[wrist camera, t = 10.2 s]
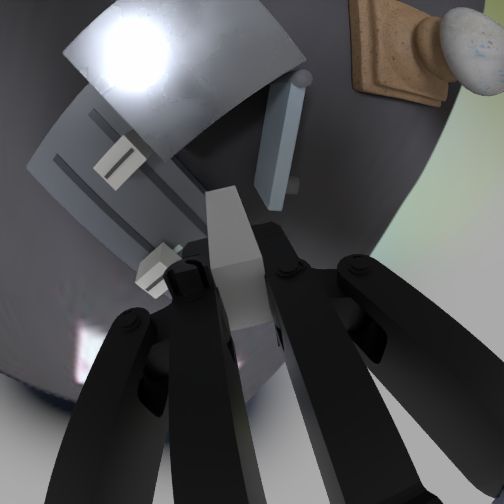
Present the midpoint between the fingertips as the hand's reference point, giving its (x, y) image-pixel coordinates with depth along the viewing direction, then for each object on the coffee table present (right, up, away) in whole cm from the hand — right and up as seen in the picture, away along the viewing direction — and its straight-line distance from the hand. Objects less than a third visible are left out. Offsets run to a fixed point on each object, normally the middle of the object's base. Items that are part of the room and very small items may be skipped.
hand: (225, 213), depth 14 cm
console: (-9, +3, +9) cm, 13 cm away
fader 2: (-7, -3, +10) cm, 13 cm away
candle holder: (+16, +18, +5) cm, 24 cm away
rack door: (+3, +8, +8) cm, 12 cm away
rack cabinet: (-4, +13, +4) cm, 14 cm away
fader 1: (-8, +6, +5) cm, 11 cm away
